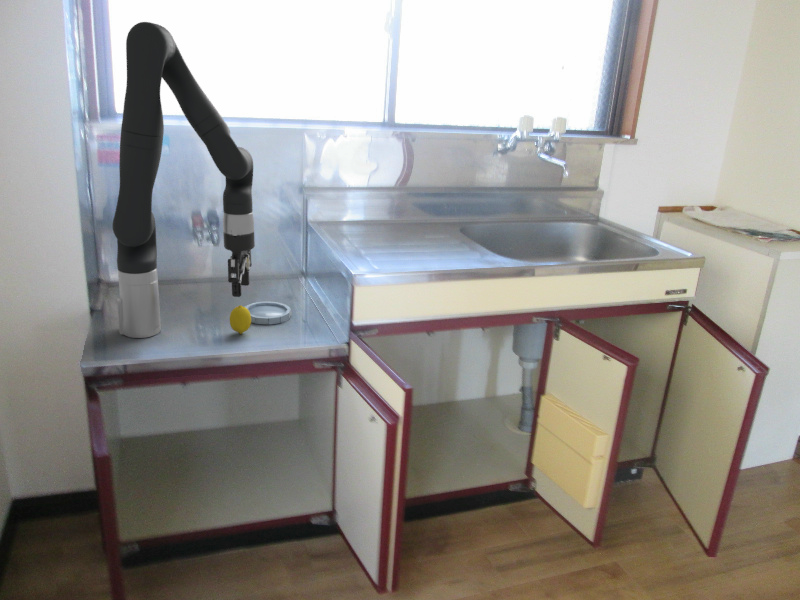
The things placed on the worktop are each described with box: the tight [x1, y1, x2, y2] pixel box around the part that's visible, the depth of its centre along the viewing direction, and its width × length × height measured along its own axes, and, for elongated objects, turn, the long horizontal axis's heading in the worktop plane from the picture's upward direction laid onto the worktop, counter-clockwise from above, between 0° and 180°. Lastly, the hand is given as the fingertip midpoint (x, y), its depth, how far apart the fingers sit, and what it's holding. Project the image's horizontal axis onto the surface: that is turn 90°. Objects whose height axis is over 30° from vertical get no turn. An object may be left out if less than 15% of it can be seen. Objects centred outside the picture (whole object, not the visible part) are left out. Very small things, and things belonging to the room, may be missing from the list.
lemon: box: [229, 304, 252, 335], centre depth 175 cm, size 6×6×8 cm
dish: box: [244, 301, 292, 325], centre depth 189 cm, size 13×13×2 cm
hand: (241, 290), depth 172 cm, fingers open, 8 cm apart
